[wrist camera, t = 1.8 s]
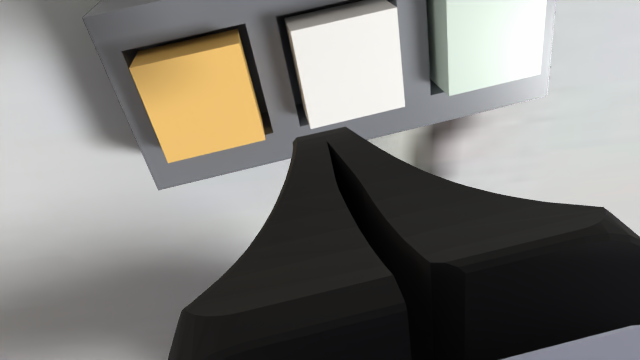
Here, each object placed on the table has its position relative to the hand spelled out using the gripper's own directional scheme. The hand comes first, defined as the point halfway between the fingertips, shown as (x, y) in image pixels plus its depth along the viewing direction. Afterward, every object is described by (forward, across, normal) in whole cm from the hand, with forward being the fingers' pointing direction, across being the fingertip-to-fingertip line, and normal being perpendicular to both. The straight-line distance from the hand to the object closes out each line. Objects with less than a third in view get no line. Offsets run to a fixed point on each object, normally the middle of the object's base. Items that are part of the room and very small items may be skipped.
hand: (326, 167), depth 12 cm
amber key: (+7, +3, 0) cm, 7 cm away
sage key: (+7, -7, -1) cm, 9 cm away
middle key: (+7, -2, 0) cm, 7 cm away
